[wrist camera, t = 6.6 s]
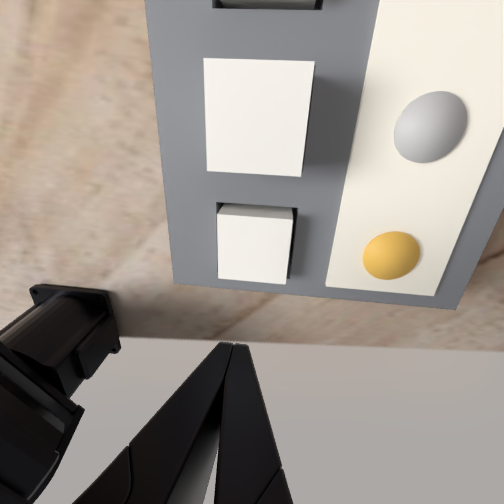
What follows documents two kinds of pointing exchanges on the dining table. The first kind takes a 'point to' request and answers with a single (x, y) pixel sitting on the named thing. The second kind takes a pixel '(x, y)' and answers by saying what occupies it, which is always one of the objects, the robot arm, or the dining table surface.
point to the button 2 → (254, 242)
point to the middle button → (256, 115)
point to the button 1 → (269, 4)
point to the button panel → (346, 143)
